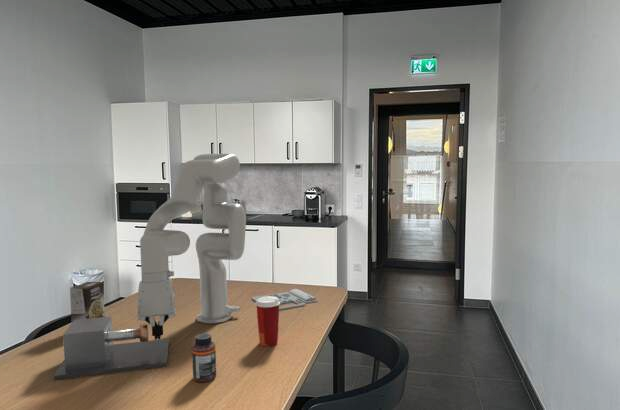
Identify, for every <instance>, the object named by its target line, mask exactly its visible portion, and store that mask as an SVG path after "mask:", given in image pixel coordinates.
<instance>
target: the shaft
mask: <svg viewBox="0 0 620 410" xmlns="http://www.w3.org/2000/svg"><path fill="white" fill-rule="evenodd" d="M149 334H150V330H149V323H141V324H140V326H139V328H136V327H135V328H129V329H119V330H118V329H117V330H112V331H108V332H107V339H108V342H113V343H114V342H123V341H133V340H139V342H148V341H150V340H149V339H150V335H149ZM62 346H63V347H64V340H63V339H62Z"/></svg>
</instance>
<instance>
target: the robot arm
mask: <svg viewBox="0 0 620 410" xmlns="http://www.w3.org/2000/svg"><path fill="white" fill-rule="evenodd" d="M240 166H241V164H240V160H239V158H238V156H236V155H235V154H234V153H203V154H198V155H196V156H195V157H194V158H193V159H192V160H187V161H186V162H184V163H183V164H182V166H181V169H180V171H179V174H178V177H177V179H176V183H175V185H174V188H173V189H172V193H171V196H170V198H169V199H167V200H166V201H165V202H164V203H163V204H161V205H160V206H159V207H158V208H157V209H156V210H155V211H154V212H153V213H152V215H151V216H150V217H149V219H148V221H147V223H146V225H145V228H144V232H143V234H142V236H141V238H140V240H139V242H140V243H139V248H140V249H139V250H140V270H141V271H140V272H141V273H140V274H141V280H140V281H139V282H138V289H137V291H138V292H137V318H136V319H137V320H138V321H143V322H146V324H148V325H150V326H151V336H152V337H154V340H160V339H162V336H163V335H164V324H165V322H166V321H168V320H169V319H173V318H174V317H176V316H177V312H176V300H175V299H176V298H175V291H174V290H175V289H174V284H173V279H172V278H171V277H173V276H175V272H174V271H173V270H170V268H169V266H170V265H169V257H170V256H171V257H174V256H180V255H182V254H184V253H186V252H187V251H188V250H189V249H190V245H191V239H190V236H189V235H188V234H187V233H186V232H185V231H182V230H176V229H175V230H174V229H173V230H171V229H165V227H166V226H167V225H168V224H169V223H170V222H171V221H172V220H174V219H176V218H178V217H180V216H183V215H186V214H187V213H189V212H191V211H192V212H193V210H195V209H196V207H197V206H198V203H199V200H200V197H201V193H202V191H203V204H202V218H201V219H202V224H203V226H204V227H205V228H207V229H210V230H211V229H212V230H228V232H226V233H225V232H204V233H202V234H201V235H199V236H198V237H197V238H196V241H195V250H196V255H197V259H198V269H199V293H200V294H199V295H200V297H199V299H200V313H198V314H197V315H196V321H197V322H199V323H201V324H210V325H211V324H219V323H225V322H227V321H228V320H230V319H232V317H233V313H239V312H241V306H240V305H239V306H237V305H229V303H228V285H227V268H226V266H225V263H224V262H223V261H222V260H225V261H237V260H240V259H241V258H242V256H243V255H244V252H245V246H246V245H245V244H246V230H247V229H246V228H247V215H246V210H245V207H244V206H243V205H241V204H239V203H236V202H235V203H234V202H231V203H230V202H228V188H227V186H226V184H225V183H226V182H228V181H229V180H232V179H234V178H236V176H238V173H239V171H240ZM156 316H157V317H159V321H158V322H157V321H156V318H155V317H156Z"/></svg>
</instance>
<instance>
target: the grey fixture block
mask: <svg viewBox="0 0 620 410" xmlns="http://www.w3.org/2000/svg"><path fill="white" fill-rule="evenodd" d="M112 317H113V316H105V317H100V318H89V319H78V320H74V321H73V322H71V324H70V325H69V327H67V329H66V330H65V332H64V333H63V335H62V337H63V339H62V341H63V340H64V346H63V356H64V360H63V361H62V363H61V364H60V366H59V367H58V369H57V370H56V372H55V373H54V375H53V381H59V380H60V381H61V380H68V379H77V378H85V377H92V376H101V375H109V374H115V373H116V374H117V373H123V372H124V373H125V372H133V371H140V370H149V369H150V370H151V369H155V368H156V369H157V368H165V367H167V366H168V360H169V359H168V357H169V350H170V349H169V348H170V338H161V339H157V340H155V339H151V340H148V342H140V341H135V342H126V343H125V342H124V343H117V344H114V342H108V339H107V332H108V331H113V320H112Z"/></svg>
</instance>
